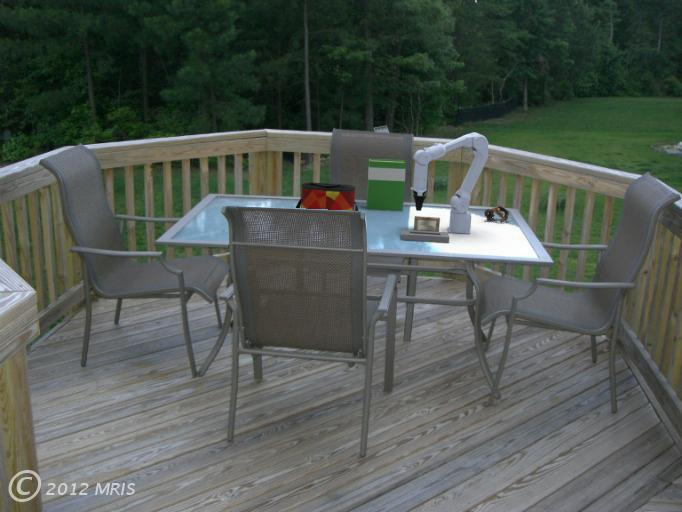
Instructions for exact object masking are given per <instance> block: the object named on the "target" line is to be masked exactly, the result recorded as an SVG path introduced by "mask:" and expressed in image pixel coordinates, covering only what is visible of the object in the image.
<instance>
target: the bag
mask: <svg viewBox="0 0 682 512" xmlns="http://www.w3.org/2000/svg"><path fill="white" fill-rule="evenodd" d="M300 191H301V192H300V193H301V194H300V198H299V200H298V202H297V204H296V205H295V208H300V209H301V208H306V209H328V210H349V211H354V212H355V211H358V212H359V207H358V205H357V203H356V200H355V199H356V187H355V186H354V185H351V184H340V183H337V184H335V183H324V182H323V183H322V182H313V181H310V182H304V183H302V184H301V190H300Z"/></svg>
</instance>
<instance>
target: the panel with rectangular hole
mask: <svg viewBox="0 0 682 512" xmlns="http://www.w3.org/2000/svg"><path fill="white" fill-rule="evenodd" d="M400 237H401V241H412V242H413V241H414V242H425V241H428V243H443V244H450V234H449V232H448V231H447V232H445V231H439V232H433V231H417V230H414V229H401V233H400Z"/></svg>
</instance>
